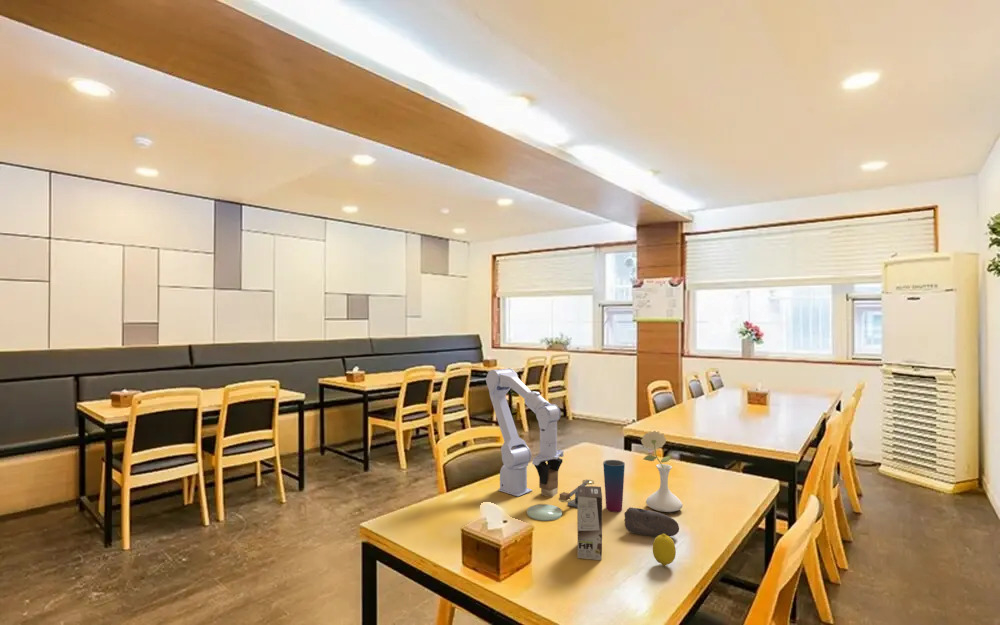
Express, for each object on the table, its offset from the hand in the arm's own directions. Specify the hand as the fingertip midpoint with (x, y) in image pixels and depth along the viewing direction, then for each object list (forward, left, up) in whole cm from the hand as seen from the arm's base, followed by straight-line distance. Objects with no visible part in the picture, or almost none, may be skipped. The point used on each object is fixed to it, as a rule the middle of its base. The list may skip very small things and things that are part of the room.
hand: (548, 481), depth 174 cm
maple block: (-5, +7, -7) cm, 11 cm away
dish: (+5, -9, -7) cm, 12 cm away
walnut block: (0, 0, -2) cm, 2 cm away
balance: (+8, +5, -7) cm, 12 cm away
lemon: (+48, -15, -7) cm, 51 cm away
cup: (+19, +10, -7) cm, 23 cm away
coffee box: (+30, -21, -7) cm, 37 cm away
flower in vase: (+30, +21, -7) cm, 37 cm away
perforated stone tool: (+37, 0, -7) cm, 38 cm away
